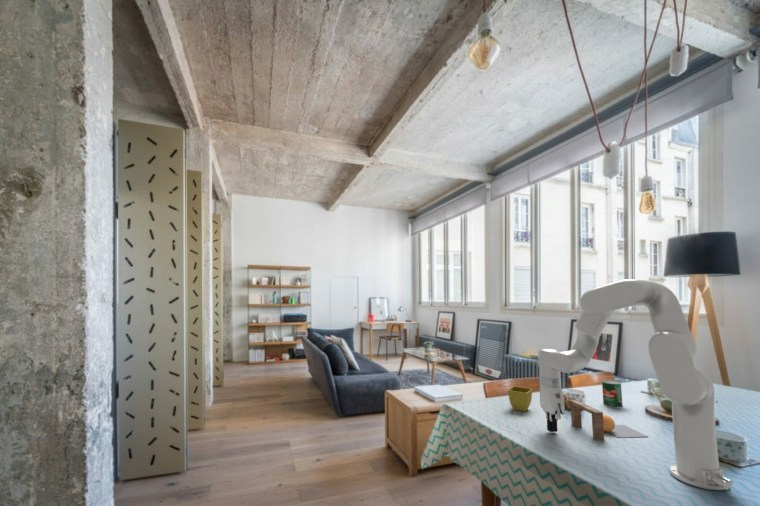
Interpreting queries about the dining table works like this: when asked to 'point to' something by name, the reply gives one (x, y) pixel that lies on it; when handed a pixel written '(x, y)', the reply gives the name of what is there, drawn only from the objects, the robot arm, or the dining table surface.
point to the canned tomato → (612, 393)
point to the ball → (608, 423)
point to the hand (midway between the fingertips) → (552, 430)
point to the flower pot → (520, 398)
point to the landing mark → (625, 432)
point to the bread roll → (567, 403)
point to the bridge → (596, 418)
